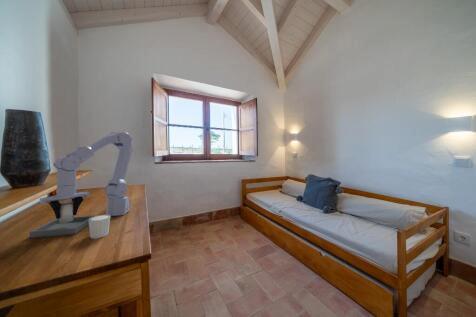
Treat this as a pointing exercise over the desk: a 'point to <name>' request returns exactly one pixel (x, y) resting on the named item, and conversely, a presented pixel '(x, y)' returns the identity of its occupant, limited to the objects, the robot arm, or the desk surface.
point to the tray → (61, 227)
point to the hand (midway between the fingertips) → (66, 216)
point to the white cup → (99, 226)
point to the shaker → (66, 212)
